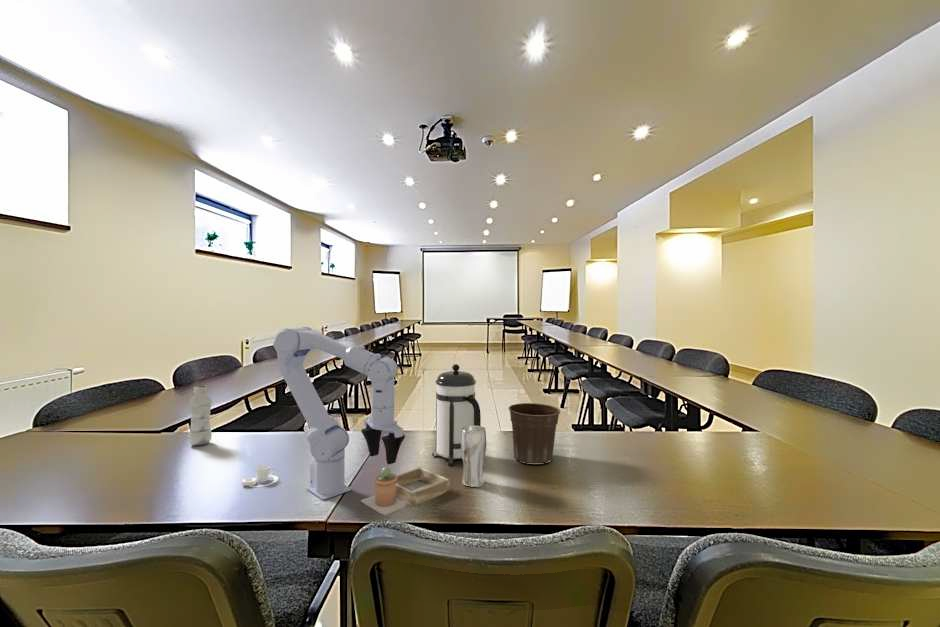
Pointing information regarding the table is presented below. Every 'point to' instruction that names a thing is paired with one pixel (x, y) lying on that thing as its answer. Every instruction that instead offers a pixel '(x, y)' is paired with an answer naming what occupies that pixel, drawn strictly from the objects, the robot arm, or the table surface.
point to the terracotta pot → (385, 488)
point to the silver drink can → (473, 454)
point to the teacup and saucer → (260, 477)
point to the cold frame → (422, 495)
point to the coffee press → (454, 411)
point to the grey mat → (382, 510)
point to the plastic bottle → (200, 417)
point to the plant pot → (533, 431)
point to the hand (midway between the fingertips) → (382, 459)
